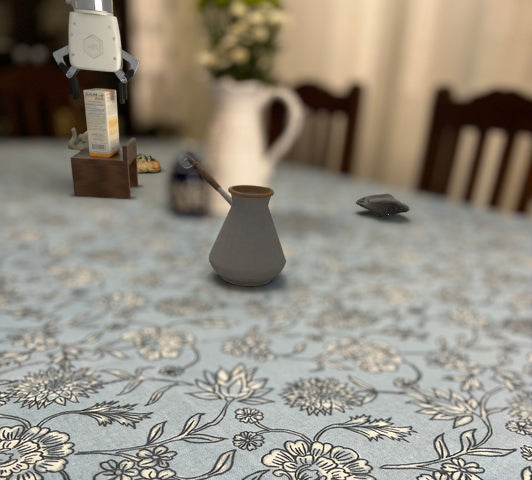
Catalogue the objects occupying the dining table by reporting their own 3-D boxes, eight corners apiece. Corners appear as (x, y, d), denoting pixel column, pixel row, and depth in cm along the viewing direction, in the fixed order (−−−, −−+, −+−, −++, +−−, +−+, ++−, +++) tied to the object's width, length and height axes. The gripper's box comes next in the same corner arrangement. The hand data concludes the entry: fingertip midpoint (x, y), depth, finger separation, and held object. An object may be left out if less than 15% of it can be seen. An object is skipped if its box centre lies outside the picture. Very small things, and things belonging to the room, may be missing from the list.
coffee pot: (300, 281, 78) (311, 178, 71) (241, 297, 71) (247, 185, 64) (214, 243, 91) (216, 153, 84) (157, 254, 84) (154, 157, 77)
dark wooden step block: (74, 195, 114) (68, 142, 109) (88, 182, 126) (83, 134, 121) (129, 198, 115) (126, 146, 110) (138, 185, 127) (136, 137, 122)
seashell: (390, 225, 111) (419, 214, 116) (389, 198, 108) (419, 188, 113) (350, 220, 120) (379, 210, 125) (349, 195, 117) (378, 186, 122)
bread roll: (147, 164, 152) (147, 146, 149) (168, 176, 146) (169, 158, 143) (113, 167, 146) (112, 149, 143) (133, 181, 140) (133, 162, 137)
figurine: (70, 190, 132) (47, 129, 124) (116, 172, 140) (97, 113, 131) (90, 195, 127) (68, 131, 118) (137, 176, 135) (119, 114, 126)
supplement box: (100, 150, 120) (94, 87, 114) (120, 152, 120) (116, 89, 114) (88, 156, 113) (82, 89, 107) (110, 157, 113) (105, 91, 107)
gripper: (42, -1, 99) (53, 98, 107) (134, 9, 101) (137, 106, 109) (53, 3, 106) (62, 96, 114) (140, 12, 107) (142, 103, 116)
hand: (99, 101), depth 112 cm, fingers open, 9 cm apart
